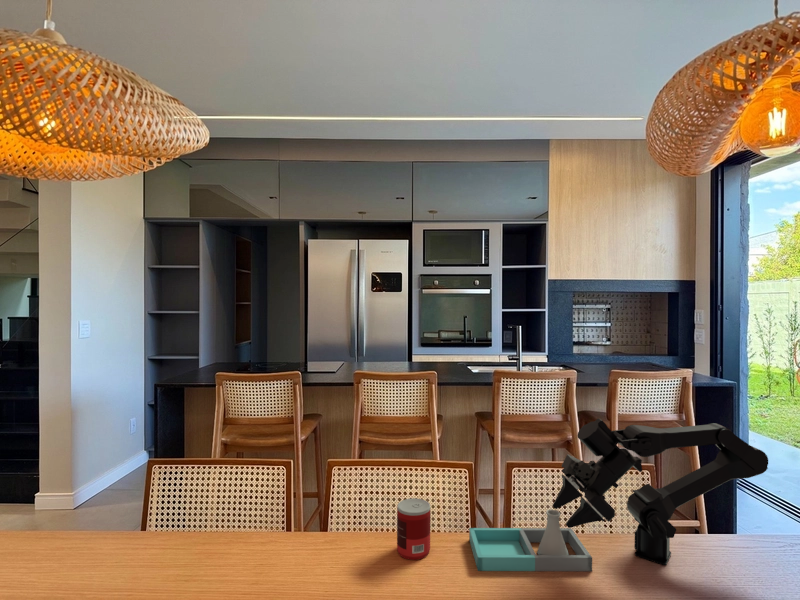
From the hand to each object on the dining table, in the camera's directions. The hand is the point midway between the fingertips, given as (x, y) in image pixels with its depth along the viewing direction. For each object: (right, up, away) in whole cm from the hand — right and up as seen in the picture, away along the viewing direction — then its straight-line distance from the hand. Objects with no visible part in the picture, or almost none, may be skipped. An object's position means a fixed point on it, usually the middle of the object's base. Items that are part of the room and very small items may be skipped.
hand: (560, 516), depth 112 cm
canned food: (-34, -9, +1) cm, 35 cm away
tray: (-8, -9, 0) cm, 12 cm away
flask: (-2, -9, 0) cm, 9 cm away
